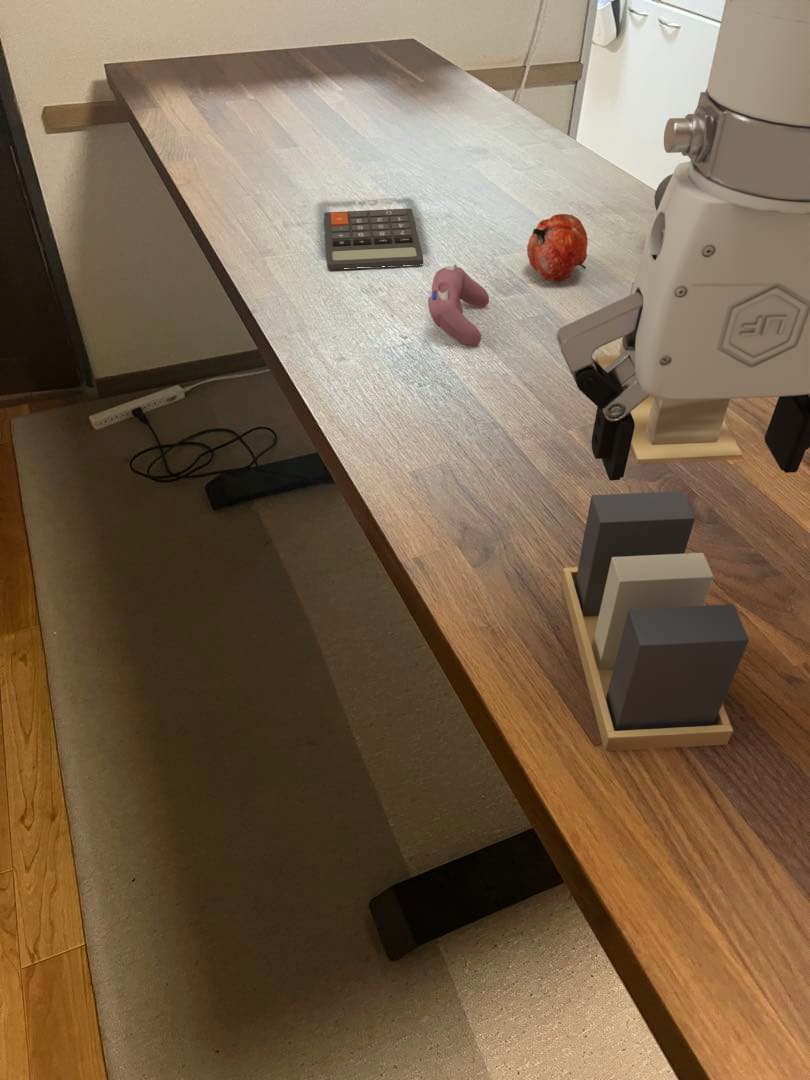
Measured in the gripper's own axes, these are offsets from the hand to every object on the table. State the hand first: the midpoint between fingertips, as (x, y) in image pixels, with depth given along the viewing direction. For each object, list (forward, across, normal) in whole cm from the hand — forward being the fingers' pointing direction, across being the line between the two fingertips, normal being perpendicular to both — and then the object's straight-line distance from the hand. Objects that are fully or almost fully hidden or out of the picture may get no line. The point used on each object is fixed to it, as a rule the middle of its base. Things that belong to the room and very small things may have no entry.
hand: (694, 460), depth 48 cm
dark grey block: (+18, 0, -5) cm, 18 cm away
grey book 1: (+18, 0, +5) cm, 19 cm away
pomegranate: (+19, +5, +58) cm, 61 cm away
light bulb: (+19, +20, +62) cm, 67 cm away
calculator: (+19, -16, +68) cm, 73 cm away
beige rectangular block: (+18, 0, 0) cm, 18 cm away
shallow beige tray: (+18, 0, 0) cm, 18 cm away
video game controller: (+19, -8, +47) cm, 51 cm away
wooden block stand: (+18, +10, +30) cm, 37 cm away
